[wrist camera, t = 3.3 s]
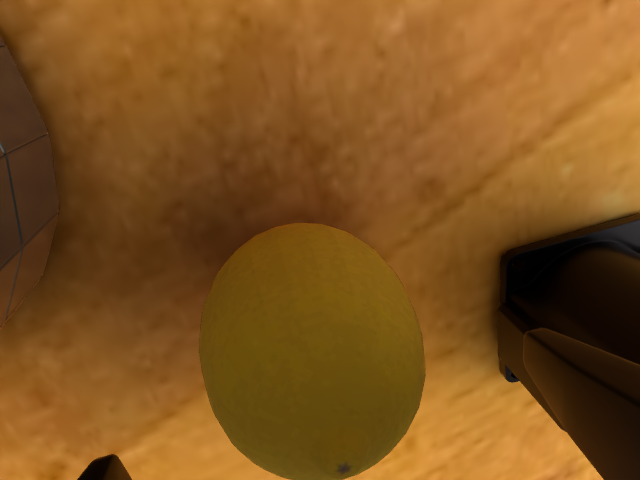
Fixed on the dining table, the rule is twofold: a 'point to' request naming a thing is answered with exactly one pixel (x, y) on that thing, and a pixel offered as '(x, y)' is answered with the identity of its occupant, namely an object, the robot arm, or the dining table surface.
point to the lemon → (311, 353)
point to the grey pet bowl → (23, 189)
